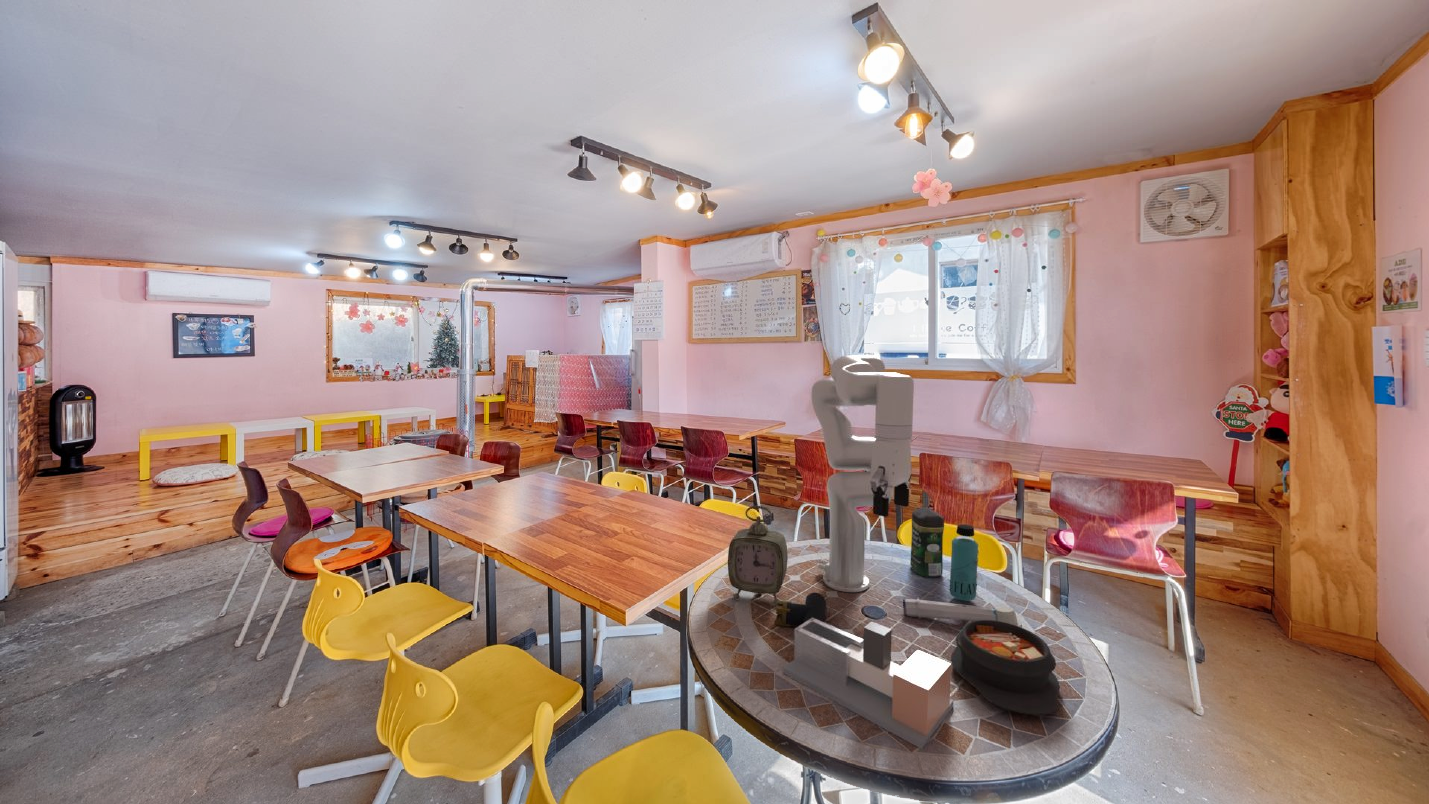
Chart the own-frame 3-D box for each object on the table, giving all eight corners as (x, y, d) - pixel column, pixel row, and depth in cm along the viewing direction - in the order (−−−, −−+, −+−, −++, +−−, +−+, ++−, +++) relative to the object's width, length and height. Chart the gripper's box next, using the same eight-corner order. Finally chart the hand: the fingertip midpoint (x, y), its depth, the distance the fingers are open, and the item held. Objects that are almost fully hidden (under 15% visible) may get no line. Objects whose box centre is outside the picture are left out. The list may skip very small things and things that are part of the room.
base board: (783, 673, 101) (783, 667, 101) (821, 644, 111) (821, 639, 111) (921, 749, 82) (921, 742, 82) (953, 706, 92) (953, 700, 92)
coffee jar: (906, 564, 154) (908, 505, 152) (932, 564, 153) (934, 505, 152) (918, 578, 144) (920, 515, 142) (946, 578, 144) (948, 515, 142)
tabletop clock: (727, 602, 131) (727, 508, 129) (736, 586, 140) (736, 498, 137) (783, 609, 127) (783, 513, 124) (788, 593, 135) (789, 502, 133)
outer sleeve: (794, 659, 104) (794, 629, 103) (811, 646, 109) (812, 617, 108) (845, 686, 96) (846, 653, 95) (862, 671, 100) (863, 639, 100)
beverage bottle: (949, 604, 129) (952, 528, 127) (947, 592, 135) (950, 520, 134) (977, 608, 127) (981, 531, 125) (975, 597, 133) (978, 523, 131)
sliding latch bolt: (839, 672, 98) (841, 619, 97) (850, 662, 101) (851, 611, 100) (922, 712, 86) (924, 654, 85) (931, 701, 89) (933, 644, 88)
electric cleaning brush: (903, 594, 127) (1018, 600, 116) (906, 620, 127) (1021, 628, 117) (902, 603, 122) (1021, 610, 112) (905, 630, 122) (1024, 640, 112)
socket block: (891, 717, 87) (893, 673, 87) (916, 690, 94) (917, 649, 94) (926, 735, 83) (928, 690, 82) (949, 705, 90) (951, 663, 89)
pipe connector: (773, 617, 113) (780, 587, 128) (773, 640, 114) (779, 607, 128) (825, 624, 111) (826, 593, 125) (825, 647, 111) (825, 613, 126)
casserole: (938, 639, 114) (939, 603, 113) (1029, 648, 110) (1031, 612, 109) (969, 716, 89) (971, 671, 88) (1088, 732, 85) (1091, 686, 85)
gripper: (894, 426, 116) (892, 498, 118) (857, 435, 104) (855, 515, 106) (927, 429, 111) (924, 505, 113) (891, 439, 99) (889, 523, 101)
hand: (891, 510), depth 109 cm, fingers open, 9 cm apart
